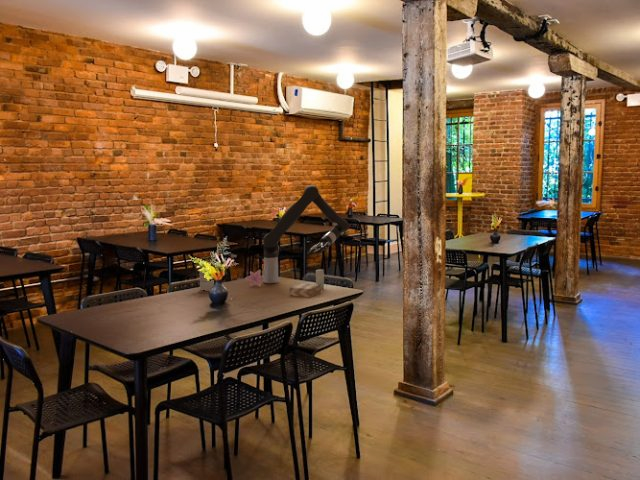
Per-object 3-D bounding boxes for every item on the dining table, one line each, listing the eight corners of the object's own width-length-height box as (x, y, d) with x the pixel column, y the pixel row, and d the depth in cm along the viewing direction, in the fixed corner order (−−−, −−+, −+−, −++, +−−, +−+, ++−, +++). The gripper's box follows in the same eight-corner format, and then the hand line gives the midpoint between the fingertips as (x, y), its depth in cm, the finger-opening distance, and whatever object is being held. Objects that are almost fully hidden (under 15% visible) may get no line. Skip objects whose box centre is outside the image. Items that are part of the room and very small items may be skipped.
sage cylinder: (314, 289, 373) (314, 270, 371) (318, 287, 377) (317, 269, 376) (321, 289, 371) (321, 271, 369) (325, 288, 375) (324, 269, 374)
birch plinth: (289, 295, 356) (289, 287, 356) (300, 290, 369) (300, 283, 368) (310, 297, 350) (310, 289, 350) (320, 292, 363) (320, 284, 362)
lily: (242, 287, 389) (242, 275, 383) (252, 277, 398) (252, 266, 392) (258, 293, 385) (258, 282, 379) (267, 283, 394) (267, 272, 388)
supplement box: (211, 291, 371) (210, 265, 369) (199, 290, 375) (198, 264, 373) (220, 288, 380) (219, 262, 377) (208, 287, 384) (207, 262, 381)
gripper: (318, 236, 393) (303, 249, 382) (332, 233, 382) (318, 246, 372) (323, 246, 395) (309, 259, 384) (338, 242, 384) (324, 256, 374)
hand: (313, 252), depth 378 cm, fingers open, 8 cm apart
